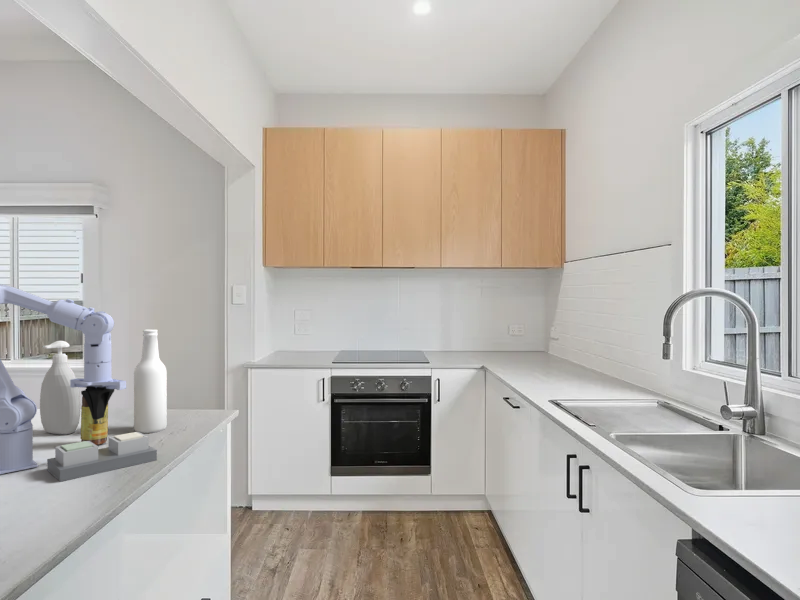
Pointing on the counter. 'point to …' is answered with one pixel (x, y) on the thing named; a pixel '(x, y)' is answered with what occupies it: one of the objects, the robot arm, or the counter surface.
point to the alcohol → (150, 388)
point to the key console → (100, 458)
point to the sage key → (76, 446)
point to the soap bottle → (59, 395)
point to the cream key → (128, 436)
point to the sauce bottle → (93, 425)
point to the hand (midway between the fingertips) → (98, 418)
